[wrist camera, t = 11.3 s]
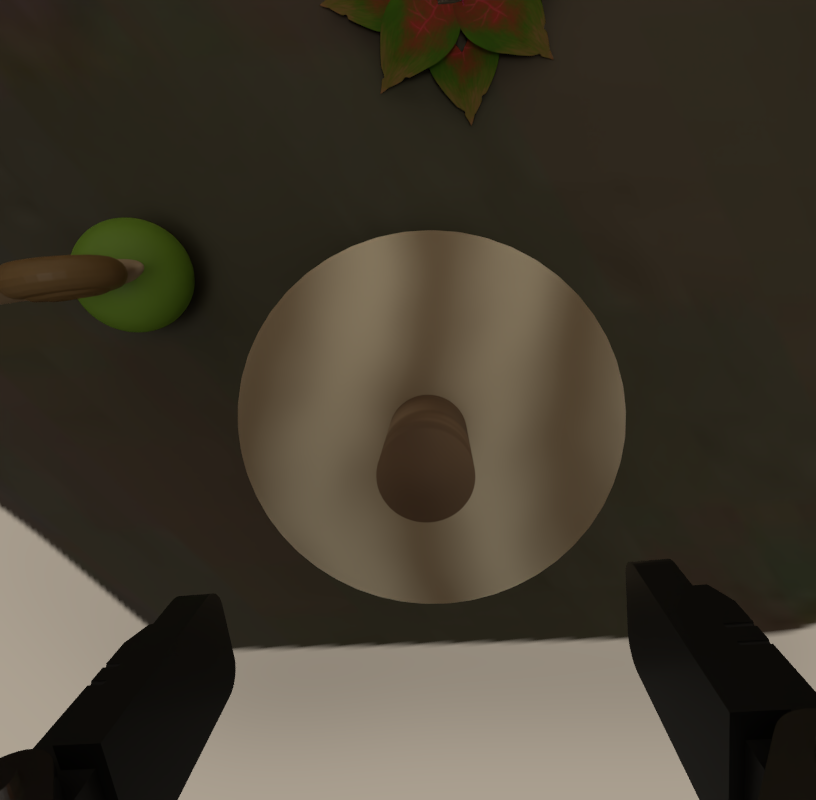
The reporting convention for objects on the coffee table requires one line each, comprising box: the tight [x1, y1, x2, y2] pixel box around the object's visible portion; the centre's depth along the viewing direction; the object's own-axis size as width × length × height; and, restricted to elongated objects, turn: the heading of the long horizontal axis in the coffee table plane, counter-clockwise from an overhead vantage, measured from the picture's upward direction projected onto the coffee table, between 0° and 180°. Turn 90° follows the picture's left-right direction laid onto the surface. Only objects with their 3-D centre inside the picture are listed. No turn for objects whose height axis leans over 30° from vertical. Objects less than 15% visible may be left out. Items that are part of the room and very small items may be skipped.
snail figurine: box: [0, 218, 195, 332], centre depth 23 cm, size 5×6×12 cm
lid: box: [238, 230, 626, 604], centre depth 20 cm, size 16×16×6 cm
